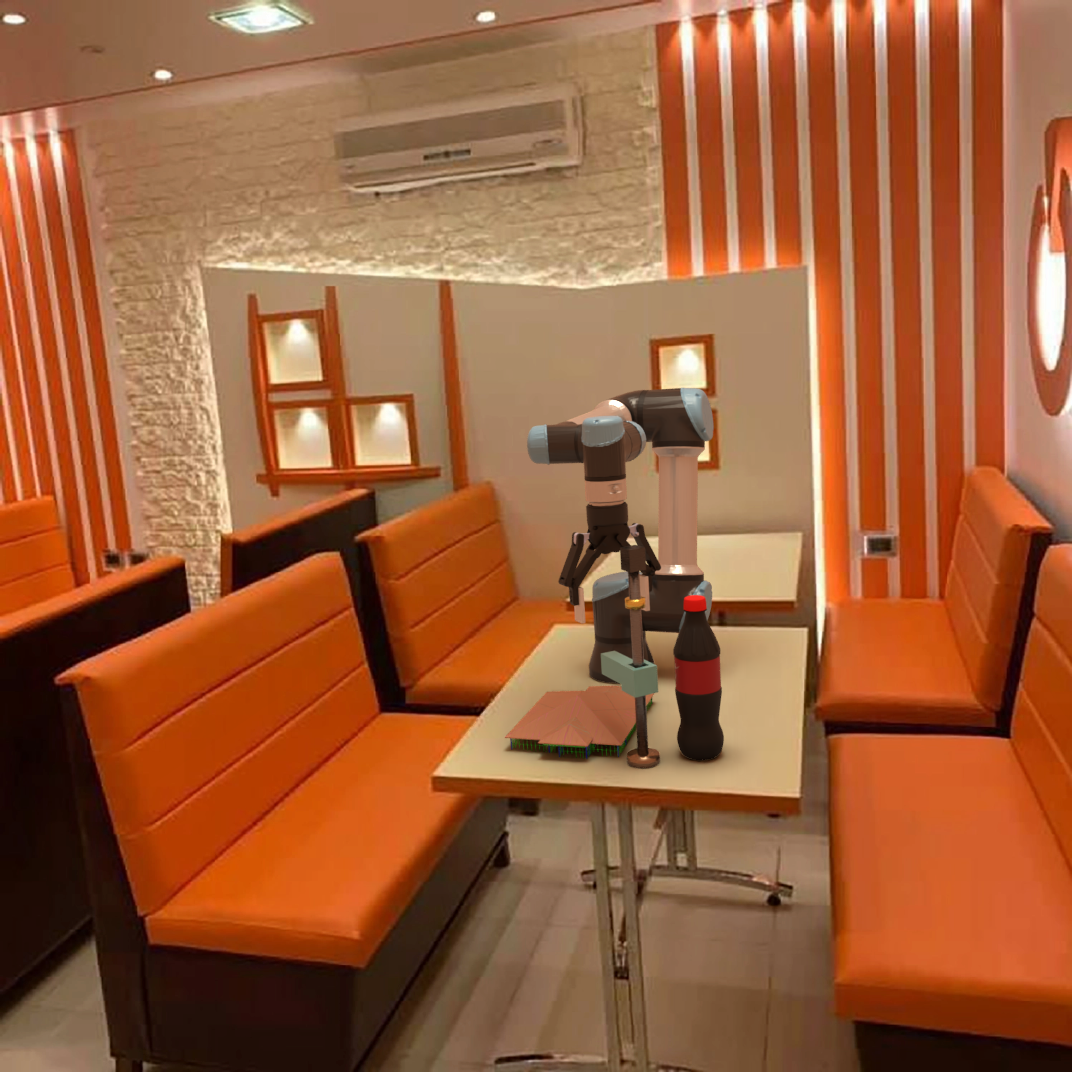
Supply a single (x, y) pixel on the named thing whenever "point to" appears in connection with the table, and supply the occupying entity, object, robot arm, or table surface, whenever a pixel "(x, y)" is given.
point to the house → (579, 719)
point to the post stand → (637, 653)
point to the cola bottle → (698, 684)
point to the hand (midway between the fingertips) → (612, 615)
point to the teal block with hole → (630, 674)
